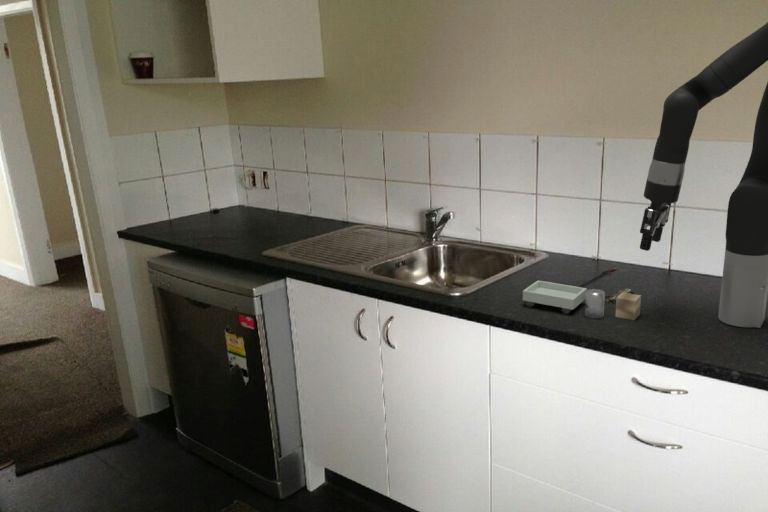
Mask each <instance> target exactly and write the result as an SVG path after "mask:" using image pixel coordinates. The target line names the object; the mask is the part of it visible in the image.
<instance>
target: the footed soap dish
mask: <svg viewBox="0 0 768 512" xmlns="http://www.w3.org/2000/svg"><path fill="white" fill-rule="evenodd" d="M587 290H588V288H586V287H578V286H575V285H569V284H562V283H556V282H552V281H551V282H550V281H545V280H544V281H543V280H538V279H537V281H535V282H534V283H532V284H531V285H529V286H528V287H526V288H525V289H523V290H522V301H525V304H526V306H527V307H528V308H532V307H534V306H535V305H536V304H539V305H545V306H549V307H550V306H552V307H557V308H561V312H562V314H564V315H568V314H569V313H571V312H572V310H574V309H576V308H577V307H578V306H579V305H580V304H582V303H583V302H584V301H586V291H587Z"/></svg>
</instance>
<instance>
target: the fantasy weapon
mask: <svg viewBox="0 0 768 512" xmlns="http://www.w3.org/2000/svg"><path fill="white" fill-rule="evenodd" d="M616 269H617V266H616V267H614V268H613V267H612V268H611V269H607V270H604V271H601V272H600V274H599V275H598V276H596V277H593V278H592V279H590V280H588V281H586V282H584V283H582V284H580V285H579V286H577V287H581V288H583V287H584V286H586V285H588V284H590V283H592V282H594V281H595V280H598V279H599V278H601V277H603V276H605V275H607V274H608V275H611V274H612V271H614V270H616ZM622 292H623V293H630V294H635V291H634V290H632V289H630V288H624V289H621V290H619V291H617V292H616V293H615V294H612V295H605V301H604V304H606V303H607V304H611V303H613V304H614V303H616V298H617V297H618V296H619V295H620V294H621V293H622Z"/></svg>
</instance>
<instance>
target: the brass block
mask: <svg viewBox="0 0 768 512" xmlns="http://www.w3.org/2000/svg"><path fill="white" fill-rule="evenodd" d="M641 301H642V295H641V294H635V293H632V294H630V293H623V292H622V293H621V294H620V295H619V296H618V297H617V298H616V302H615V318H619V319H625V320H629V321H635V320H636V319H637V318H638V317H639V316H640V315H641V305H642V304H641V303H642V302H641Z"/></svg>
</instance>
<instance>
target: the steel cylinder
mask: <svg viewBox="0 0 768 512" xmlns="http://www.w3.org/2000/svg"><path fill="white" fill-rule="evenodd" d="M605 296H606V292H605V291H604V290H602V289H599V288H597V289H596V288H592V289H591V288H590V289H587V291H586V299H585V306H584V307H585V308H584V309H585V311H584V316H585V317H587V318H590V319H601V318H603V317H604V315H605V302H604V301H605Z"/></svg>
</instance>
